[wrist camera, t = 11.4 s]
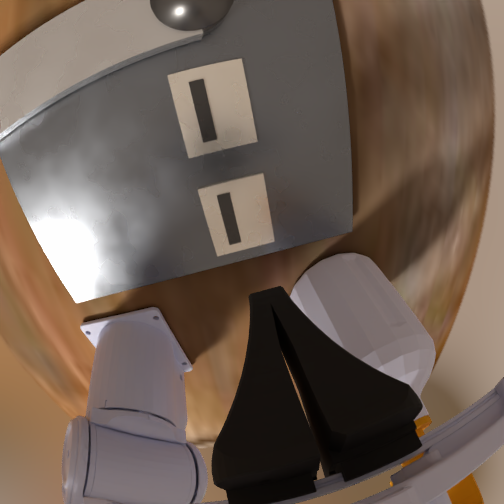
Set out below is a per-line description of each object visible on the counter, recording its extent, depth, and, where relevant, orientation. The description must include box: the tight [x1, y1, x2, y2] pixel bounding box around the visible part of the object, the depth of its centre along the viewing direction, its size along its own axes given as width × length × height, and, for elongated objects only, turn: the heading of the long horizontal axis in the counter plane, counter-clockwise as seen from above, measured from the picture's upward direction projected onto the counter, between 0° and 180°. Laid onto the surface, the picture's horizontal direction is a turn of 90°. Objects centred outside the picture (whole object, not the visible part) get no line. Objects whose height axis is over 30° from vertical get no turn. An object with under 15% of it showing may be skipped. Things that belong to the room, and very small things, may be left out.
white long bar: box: [0, 0, 234, 140], centre depth 9 cm, size 18×4×3 cm, turn 103°
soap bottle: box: [290, 253, 484, 504], centre depth 16 cm, size 9×9×25 cm
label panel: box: [0, 0, 353, 303], centre depth 16 cm, size 18×22×2 cm
